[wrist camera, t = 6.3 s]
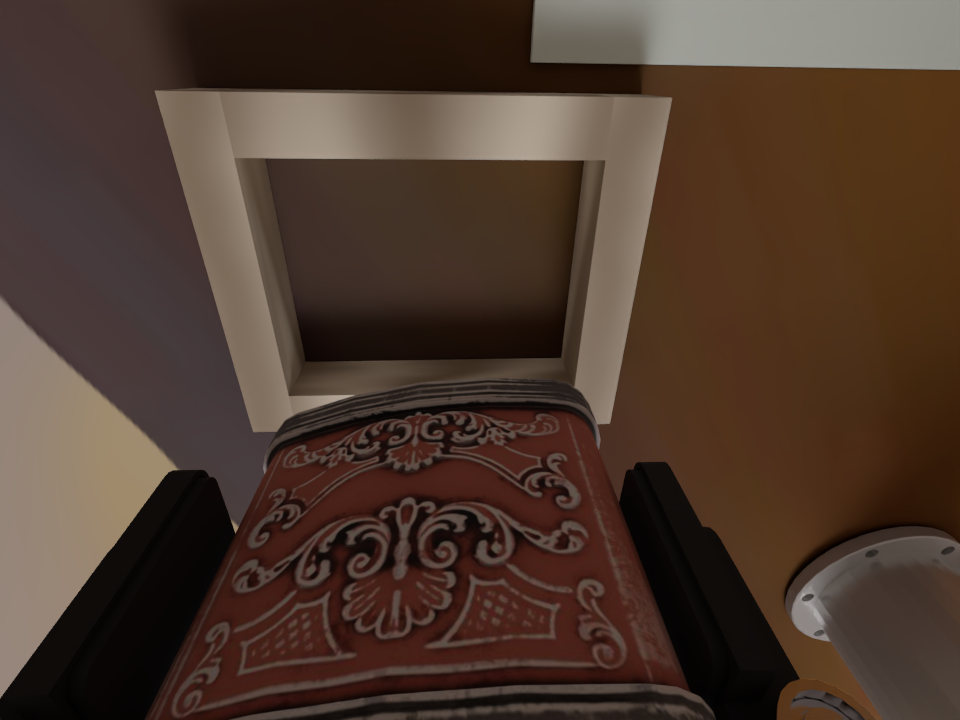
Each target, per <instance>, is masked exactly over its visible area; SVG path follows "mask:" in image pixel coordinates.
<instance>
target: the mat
mask: <svg viewBox="0 0 960 720" xmlns="http://www.w3.org/2000/svg"><path fill="white" fill-rule="evenodd" d="M530 62H537V63H594V64H651V65H708V66H765V67H822V68H879V69H936V70H960V0H534V3H533V21H532V38H531V56H530Z"/></svg>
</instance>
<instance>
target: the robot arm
mask: <svg viewBox="0 0 960 720" xmlns="http://www.w3.org/2000/svg"><path fill="white" fill-rule="evenodd" d="M619 505H620V507H621V510H622V513H623V515H624V518H625V521H626V523H627V526H628V528H629V531H630V534H631V536H632V539H633V542H634V544H635V547H636V550H637V552H638V555H639V558H640V560H641V563H642V565H643V568H644V571H645V573H646V576H647V579H648V581H649V584H650V587H651V589H652V592H653V594H654V597H655V600H656V602H657V605H658V608H659V610H660V613H661V616H662V618H663V621H664V623H665V626H666V629H667V631H668V634H669V637H670V639H671V642H672V645H673V647H674V650H675V653H676V655H677V658H678V660H679V663H680V666H681V668H682V671H683V674H684V676H685V679H686V682H687V684H688V687H689V689H690V692H691V693H693V694H695V695H698V696H700V697H701V698H702V699H703V700H704V702H705V703H706V704H707V705H708V706H709V707H710V708H711V709H712V711H713V713H714V716H715V718H716V720H876V719H875V718H874V717H873V715H872V714H871V713H870V712H869V711H868V710H867V709H866V708H865V707H863V706H862V705H861V704H860V703H859V702H858V701H856V700H855V699H854V698H853V697H852V696H850V695H848V694H847V693H845V692H843V691H842V690H840V689H838V688H837V687H835V686H833V685H830V684H827V683H824V682H822V681H819V680H812V679H800V678H799V677H798V675H797V673H796V671H795V670H794V668H793V666H792V664H791V663H790V661H789V659H788V657H787V655H786V654H785V652H784V650H783V648H782V647H781V645H780V643H779V641H778V640H777V638H776V636H775V634H774V633H773V631H772V629H771V627H770V626H769V624H768V622H767V620H766V619H765V617H764V615H763V613H762V612H761V610H760V608H759V606H758V605H757V603H756V601H755V599H754V597H753V596H752V594H751V592H750V590H749V589H748V587H747V585H746V583H745V582H744V580H743V578H742V576H741V575H740V573H739V571H738V569H737V568H736V566H735V564H734V562H733V561H732V559H731V557H730V555H729V554H728V552H727V550H726V548H725V547H724V545H723V543H722V541H721V539H720V538H719V537H718V535H717V534H716V532H715V531H713V530H712V529H711V528H709V527H702V525H701V523H700V521H699V519H698V518H697V516H696V514H695V512H694V510H693V508H692V506H691V505H690V503H689V501H688V499H687V497H686V495H685V494H684V492H683V490H682V488H681V486H680V484H679V483H678V481H677V479H676V477H675V475H674V473H673V472H672V470H671V468H670V466H669V465H668V464H667V463H666V462H638V463H636V464H635V467H634V470H627V471H626V474H625V479H624V483H623V488H622V492H621V497H620V501H619ZM234 536H235V531H234V529H233V525H232V523H231V520H230V517H229V514H228V511H227V508H226V505H225V503H224V500H223V497H222V494H221V491H220V488H219V486H218V483H217V481H216V479H215V478H214V477H209V476H208V474H207V472H206V471H204V470H175V471H174V470H173V471H171V472H169V473H168V474H167V475H166V476H165V477H164V479H163V480H162V481H161V483H160V484H159V486H158V487H157V488H156V489H155V491H154V492H153V494H152V495H151V496H150V498H149V499H148V500H147V502H146V503H145V504H144V506H143V507H142V508H141V510H140V511H139V513H138V514H137V515H136V517H135V518H134V519H133V521H132V522H131V523H130V525H129V526H128V528H127V529H126V530H125V532H124V533H123V534H122V536H121V537H120V538H119V540H118V541H117V543H116V544H115V546H114V547H113V548H112V549H111V550H110V551H109V552H108V553H107V554H106V556H105V557H104V559H103V560H102V561H101V563H100V564H99V566H98V567H97V568H96V569H95V571H94V572H93V573H92V575H91V576H90V578H89V579H88V580H87V582H86V583H85V584H84V586H83V587H82V588H81V590H80V591H79V592H78V594H77V595H76V597H75V598H74V599H73V601H72V602H71V603H70V605H69V606H68V607H67V609H66V610H65V611H64V613H63V614H62V615H61V617H60V618H59V620H58V621H57V623H56V624H55V625H54V626H53V628H52V629H51V631H50V632H49V633H48V634H47V636H46V637H45V639H44V640H43V641H42V643H41V644H40V645H39V647H38V648H37V649H36V651H35V652H34V654H33V655H32V656H31V658H30V659H29V660H28V662H27V663H26V665H25V666H24V667H23V668H22V670H21V671H20V672H19V674H18V675H17V677H16V678H15V679H14V681H13V682H12V683H11V685H10V686H9V687H8V689H7V690H6V691H5V693H4V694H3V696H2V697H1V698H0V720H145V718H146V716H147V714H148V712H149V710H150V707H151V705H152V703H153V701H154V699H155V697H156V695H157V693H158V691H159V689H160V687H161V685H162V683H163V681H164V679H165V677H166V675H167V673H168V671H169V669H170V667H171V665H172V663H173V661H174V658H175V656H176V654H177V652H178V650H179V648H180V646H181V644H182V642H183V640H184V638H185V636H186V634H187V632H188V630H189V628H190V626H191V624H192V622H193V620H194V618H195V616H196V614H197V611H198V609H199V607H200V605H201V603H202V601H203V599H204V597H205V595H206V593H207V591H208V589H209V587H210V585H211V583H212V581H213V579H214V577H215V575H216V573H217V571H218V569H219V567H220V565H221V562H222V560H223V558H224V556H225V554H226V552H227V550H228V548H229V546H230V544H231V542H232V540H233V538H234ZM785 608H786V610H787V613H788V615H789V617H790V618H791V620H792V621H793V623H794V624H795V626H796V627H797V629H799V630H800V631H801V632H802V633H804V634H805V635H807V636H810V637H812V638H815V639H820V640H824V641H831V643H832V644H833V646H834V647H835V649H836V650H837V652H838V653H839V655H840V656H841V658H842V659H843V661H844V662H845V664H846V665H847V667H848V668H849V670H850V671H851V673H852V674H853V676H854V677H855V679H856V680H857V682H858V683H859V685H860V686H861V688H862V689H863V691H864V692H865V694H866V695H867V697H868V698H869V700H870V701H871V703H872V704H873V706H874V707H875V709H876V710H877V712H878V713H879V715H880V716H881V718H882V719H883V720H960V543H959V542H958V541H957V540H956V539H955V538H953V537H952V536H950V535H949V534H947V533H946V532H944V531H941V530H938V529H934V528H929V527H920V526H905V527H895V528H888V529H882V530H878V531H875V532H871V533H867V534H864V535H861V536H859V537H856V538H853V539H851V540H848V541H846V542H844V543H842V544H840V545H838V546H836V547H834V548H832V549H830V550H829V551H827V552H825V553H824V554H822V555H821V556H819V557H818V558H816V559H815V560H814V561H812V562H811V563H810V564H809V565H808V566H806V567H805V568H804V569H803V570H802V571H801V572H800V574H799V575H798V576H797V577H796V578H795V579H794V581H793V583H792V584H791V586H790V587H789V590H788V593H787V596H786V599H785Z"/></svg>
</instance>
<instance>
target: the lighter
mask: <svg viewBox="0 0 960 720" xmlns="http://www.w3.org/2000/svg"><path fill="white" fill-rule="evenodd" d="M600 440H601V439H600V435H599V430H598V425H597V423H596V420H595V418H594V415H593V413H592V410H591V408H590V405H589V403H588V401H587V400H586V399H585V397H584V396H583V394H582V393H581V391H579V390H578V389H576V388H575V387H573V386H572V385H570V384H569V383H567V382H562V381H557V380H553V379H522V378H475V379H461V380H447V381H433V382H420V383H415V384H410V385H405V386H400V387H395V388H389V389H384V390H379V391H374V392H369V393H364V394H359V395H354V396H351V397H348V398H345V399H341V400H338V401H335V402H332V403H328V404H325V405H322V406H319V407H315V408H312V409H309V410H306V411H302V412H299V413H297V414H295V415H293V416H291V417H289V418H288V419H286V420H285V421H284V422H283V424H282V425H281V426H280V428H279V429H278V431H277V432H276V434H275V436H274V438H273V440H272V442H271V444H270V446H269V448H268V450H267V452H266V454H265V459H264V465H263V469H264V473H265V475H264V477H263V479H262V481H261V483H260V485H259V487H258V489H257V491H256V493H255V495H254V497H253V499H252V501H251V503H250V505H249V507H248V509H247V511H246V513H245V515H244V518H243V520H242V522H241V524H240V526H239V528H238V530H237V532H236V534H235V536H234V538H233V540H232V542H231V544H230V546H229V548H228V550H227V552H226V554H225V556H224V558H223V560H222V562H221V565H220V567H219V569H218V571H217V573H216V575H215V577H214V579H213V581H212V583H211V585H210V587H209V589H208V591H207V593H206V595H205V597H204V599H203V601H202V603H201V605H200V607H199V609H198V611H197V614H196V616H195V618H194V620H193V622H192V624H191V626H190V628H189V630H188V632H187V634H186V636H185V638H184V640H183V642H182V644H181V646H180V648H179V650H178V652H177V654H176V656H175V658H174V661H173V663H172V665H171V667H170V669H169V671H168V673H167V675H166V677H165V679H164V681H163V683H162V685H161V687H160V689H159V691H158V693H157V695H156V697H155V699H154V701H153V703H152V705H151V707H150V710H149V712H148V714H147V716H146V718H145V720H716V718H715V716H714V713H713V711H712V709H711V708H710V707H709V706H708V705H707V704H706V703H705V702H704V700H703V699H702V698H701V697H700V696H698V695H695V694H693V693H691V692H690V689H689V687H688V684H687V682H686V679H685V676H684V674H683V671H682V668H681V666H680V663H679V660H678V658H677V655H676V653H675V650H674V647H673V645H672V642H671V639H670V637H669V634H668V631H667V629H666V626H665V623H664V621H663V618H662V616H661V613H660V610H659V608H658V605H657V602H656V600H655V597H654V594H653V592H652V589H651V587H650V584H649V581H648V579H647V576H646V573H645V571H644V568H643V565H642V563H641V560H640V558H639V555H638V552H637V550H636V547H635V544H634V542H633V539H632V536H631V534H630V531H629V528H628V526H627V523H626V521H625V518H624V515H623V513H622V510H621V507H620V505H619V502H618V499H617V497H616V494H615V492H614V489H613V486H612V484H611V481H610V478H609V476H608V473H607V470H606V468H605V465H604V463H603V460H602V457H601V455H600V452H599V445H600Z"/></svg>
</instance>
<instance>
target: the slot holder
mask: <svg viewBox="0 0 960 720" xmlns="http://www.w3.org/2000/svg"><path fill="white" fill-rule="evenodd" d="M155 93H156V97H157V100H158V104H159V107H160V111H161V114H162V117H163V121H164V124H165V128H166V131H167V135H168V138H169V142H170V145H171V149H172V152H173V156H174V159H175V163H176V166H177V169H178V173H179V176H180V180H181V183H182V187H183V190H184V194H185V197H186V201H187V204H188V208H189V211H190V214H191V218H192V221H193V225H194V228H195V232H196V235H197V239H198V242H199V246H200V249H201V253H202V256H203V260H204V263H205V266H206V270H207V273H208V277H209V280H210V284H211V287H212V291H213V294H214V298H215V301H216V305H217V308H218V311H219V315H220V318H221V322H222V325H223V329H224V332H225V336H226V339H227V343H228V346H229V350H230V353H231V357H232V360H233V363H234V367H235V370H236V374H237V377H238V381H239V384H240V388H241V391H242V395H243V398H244V402H245V405H246V409H247V412H248V415H249V419H250V422H251V426H252V429H253V432H276V431H278V429H279V428H280V426H281V425H282V424H283V422H284V421H285V420H286V419H288V418H289V417H291V416H293V415H295V414H297V413H299V412H302V411H306V410H309V409H312V408H315V407H319V406H322V405H325V404H328V403H332V402H335V401H338V400H341V399H345V398H348V397H351V396H354V395H359V394H364V393H369V392H374V391H379V390H384V389H389V388H395V387H400V386H405V385H410V384H415V383H420V382H433V381H447V380H461V379H475V378H522V379H553V380H557V381H562V382H567V383H569V384H570V385H572V386H573V387H575V388H576V389H578V390H579V391H581V393H582V394H583V396H584V397H585V399H586V400H587V401H588V403H589V405H590V408H591V410H592V413H593V415H594V418H595V420H596V423H597V424H610V420H611V415H612V410H613V404H614V399H615V394H616V389H617V384H618V378H619V373H620V368H621V363H622V357H623V352H624V347H625V342H626V337H627V331H628V326H629V321H630V316H631V310H632V305H633V300H634V295H635V290H636V284H637V279H638V274H639V269H640V263H641V258H642V253H643V248H644V243H645V237H646V232H647V227H648V222H649V216H650V211H651V206H652V201H653V196H654V190H655V185H656V180H657V175H658V169H659V164H660V159H661V154H662V149H663V143H664V138H665V133H666V128H667V122H668V117H669V112H670V107H671V102H672V98H669V97H661V96H652V95H644V94H590V93H519V92H449V91H378V90H307V89H236V88H188V89H174V90H159V91H155ZM265 158H308V159H460V160H584V166H583V174H582V183H581V192H580V200H579V209H578V217H577V226H576V235H575V243H574V252H573V260H572V269H571V278H570V286H569V295H568V304H567V312H566V321H565V329H564V338H563V347H562V355H561V358H521V359H457V360H393V361H329V362H306V361H305V356H304V351H303V346H302V341H301V336H300V331H299V326H298V321H297V316H296V311H295V306H294V301H293V296H292V291H291V286H290V281H289V275H288V270H287V265H286V260H285V255H284V250H283V245H282V240H281V235H280V230H279V225H278V220H277V215H276V210H275V205H274V200H273V195H272V190H271V185H270V180H269V175H268V170H267V165H266V160H265Z"/></svg>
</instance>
